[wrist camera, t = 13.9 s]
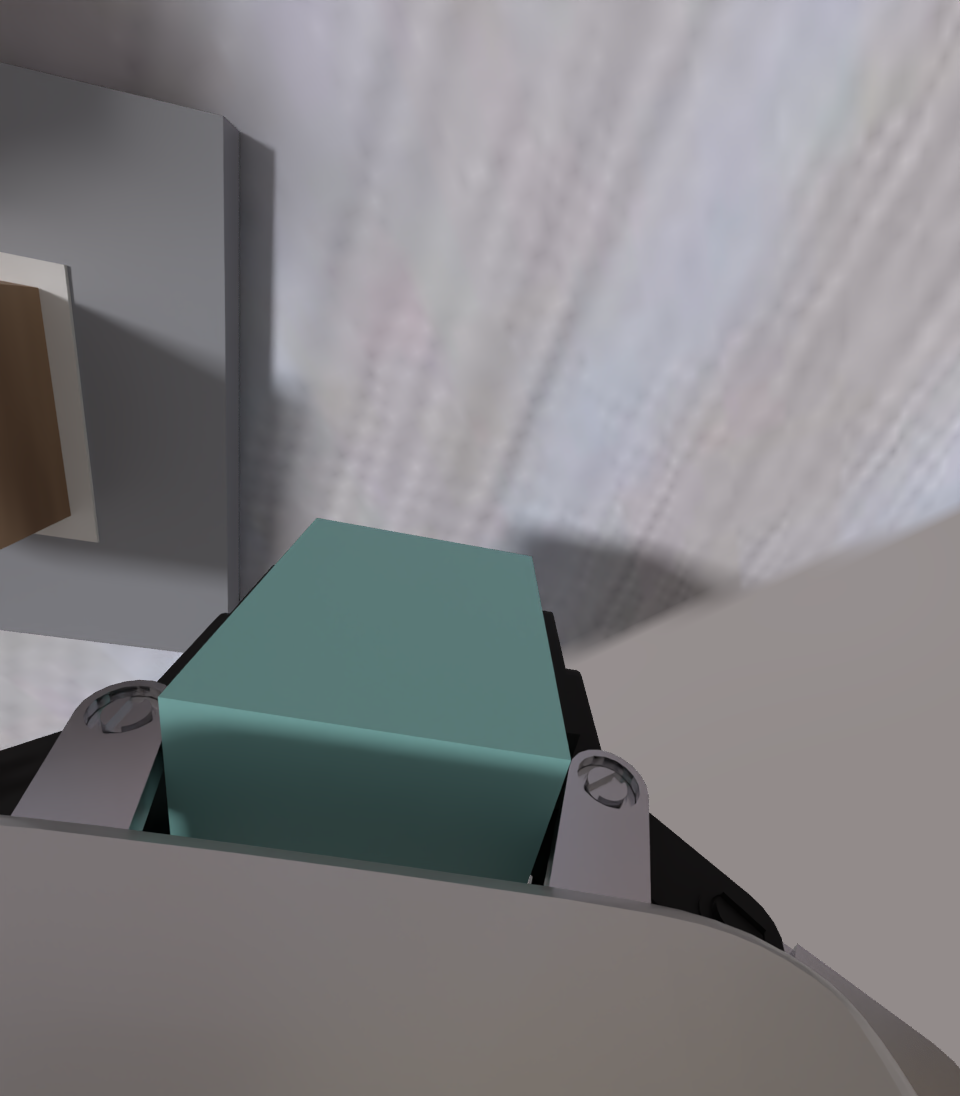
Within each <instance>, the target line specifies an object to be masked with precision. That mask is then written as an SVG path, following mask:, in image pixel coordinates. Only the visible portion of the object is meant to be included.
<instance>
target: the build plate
mask: <svg viewBox="0 0 960 1096" xmlns="http://www.w3.org/2000/svg"><path fill="white" fill-rule="evenodd" d="M0 280H1V281H6V282H11V283H16V284H21V285H27V286H32V287H37V288H38V289H39V296H40V303H41V310H42V317H43V324H44V331H45V338H46V345H47V351H48V358H49V365H50V372H51V379H52V386H53V393H54V400H55V407H56V414H57V421H58V428H59V435H60V442H61V449H62V456H63V463H64V470H65V477H66V484H67V491H68V498H69V505H70V512H71V516H69V517H67V518H65V519H63V520H61V521H59V522H57V523H55V524H53V525H51V526H49V527H46V528H44V529H42V530H40V531H38V532H36V533H34V534H32V535H30V536H28V537H26V538H24V539H22V540H20V541H18V542H15V543H13V544H11V545H9V546H7V547H5V548H3V549H1V550H0V630H4V631H13V632H21V633H29V634H37V635H45V636H53V637H61V638H69V639H78V640H86V641H94V642H102V643H110V644H118V645H126V646H134V647H143V648H151V649H159V650H167V651H175V652H183V653H184V652H185V651H186V650H187V649H188V648H189V647H190V646H191V645H192V644H193V642H194V641H195V640H196V639H197V638H198V637H199V636H200V635H201V634H202V633H203V632H204V631H205V630H206V628H207V627H208V626H209V625H210V624H211V623H212V622H213V621H214V620H215V619H216V618H217V617H218V616H219V615H220V614H221V613H231V612H232V611H233V610H234V608H235V607H236V606H237V605H238V604H239V130H238V129H237V128H236V127H235V126H234V125H232V124H231V123H230V122H229V121H228V120H227V119H226V118H225V117H224V116H222V115H218V114H214V113H209V112H205V111H201V110H197V109H193V108H189V107H185V106H180V105H176V104H172V103H168V102H164V101H160V100H156V99H151V98H147V97H143V96H139V95H135V94H131V93H127V92H123V91H118V90H114V89H110V88H106V87H102V86H98V85H94V84H89V83H85V82H81V81H77V80H73V79H69V78H65V77H60V76H56V75H52V74H48V73H44V72H40V71H36V70H31V69H27V68H23V67H19V66H15V65H11V64H7V63H2V62H0Z"/></svg>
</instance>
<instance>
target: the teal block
mask: <svg viewBox="0 0 960 1096" xmlns="http://www.w3.org/2000/svg"><path fill="white" fill-rule="evenodd" d="M158 704H159V715H160V726H161V737H162V748H163V759H164V770H165V781H166V791H167V802H168V813H169V824H170V835H175V836H183V837H191V838H198V839H206V840H214V841H221V842H229V843H237V844H244V845H252V846H259V847H267V848H274V849H282V850H289V851H296V852H304V853H311V854H319V855H326V856H334V857H341V858H348V859H355V860H363V861H370V862H377V863H385V864H392V865H399V866H407V867H414V868H421V869H428V870H435V871H442V872H449V873H456V874H463V875H470V876H477V877H485V878H492V879H499V880H506V881H513V882H520V883H528V880H529V877H530V874H531V871H532V869H533V866H534V863H535V860H536V857H537V855H538V852H539V849H540V846H541V843H542V841H543V838H544V835H545V832H546V829H547V827H548V824H549V821H550V818H551V815H552V813H553V810H554V807H555V804H556V801H557V798H558V796H559V793H560V790H561V787H562V784H563V782H564V779H565V776H566V773H567V770H568V768H569V765H570V762H571V757H570V752H569V747H568V742H567V737H566V731H565V726H564V721H563V716H562V711H561V705H560V700H559V695H558V690H557V685H556V679H555V674H554V669H553V664H552V659H551V653H550V648H549V643H548V638H547V633H546V627H545V622H544V617H543V612H542V607H541V601H540V596H539V591H538V586H537V581H536V575H535V570H534V565H533V560H532V556H527V555H521V554H516V553H510V552H504V551H499V550H493V549H488V548H482V547H476V546H471V545H465V544H460V543H454V542H448V541H443V540H437V539H432V538H426V537H420V536H415V535H409V534H404V533H398V532H393V531H387V530H381V529H376V528H370V527H365V526H359V525H353V524H348V523H342V522H337V521H331V520H325V519H320V518H316V519H315V521H314V522H313V523H312V524H311V525H310V526H309V527H308V528H307V530H306V531H305V532H304V533H303V534H302V535H301V536H300V537H299V539H298V540H297V541H296V542H295V543H294V544H293V545H292V546H291V548H290V549H289V550H288V551H287V552H286V553H285V554H284V555H283V557H282V558H281V559H280V560H279V561H278V562H277V563H276V564H275V566H274V567H273V568H272V569H271V570H270V571H269V572H268V574H267V575H266V576H265V577H264V578H263V579H262V580H261V581H260V583H259V584H258V585H257V586H256V587H255V588H254V589H253V590H252V592H251V593H250V594H249V595H248V596H247V597H246V598H245V599H244V601H243V602H242V603H241V604H240V605H239V606H238V607H237V608H236V610H235V611H234V612H233V613H232V614H231V615H230V616H229V617H228V619H227V620H226V621H225V622H224V623H223V624H222V625H221V626H220V628H219V629H218V630H217V631H216V632H215V633H214V634H213V635H212V637H211V638H210V639H209V640H208V641H207V642H206V643H205V644H204V646H203V647H202V648H201V649H200V650H199V651H198V652H197V653H196V655H195V656H194V657H193V658H192V659H191V660H190V661H189V662H188V664H187V665H186V666H185V667H184V668H183V669H182V670H181V672H180V673H179V674H178V675H177V676H176V677H175V678H174V679H173V681H172V682H171V683H170V684H169V685H168V686H167V687H166V688H165V690H164V691H163V692H162V693H161V694H160V695H159V696H158Z"/></svg>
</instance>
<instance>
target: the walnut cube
mask: <svg viewBox="0 0 960 1096" xmlns="http://www.w3.org/2000/svg"><path fill="white" fill-rule="evenodd" d="M69 516H71V512H70V505H69V498H68V491H67V484H66V477H65V470H64V463H63V456H62V449H61V442H60V435H59V428H58V421H57V414H56V407H55V400H54V393H53V386H52V379H51V372H50V365H49V358H48V351H47V345H46V338H45V331H44V324H43V317H42V310H41V303H40V296H39V289H38V288H37V287H32V286H27V285H21V284H16V283H11V282H6V281H1V280H0V550H1V549H3V548H5V547H7V546H9V545H11V544H13V543H15V542H18V541H20V540H22V539H24V538H26V537H28V536H30V535H32V534H34V533H36V532H38V531H40V530H42V529H44V528H46V527H49V526H51V525H53V524H55V523H57V522H59V521H61V520H63V519H65V518H67V517H69Z"/></svg>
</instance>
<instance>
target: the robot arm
mask: <svg viewBox="0 0 960 1096" xmlns="http://www.w3.org/2000/svg"><path fill="white" fill-rule="evenodd" d="M274 566H275V565H273V566H272V567H271V568H270V569H269V570H268V572H269V571H270V570H271V569H272V568H273V567H274ZM268 572H267V573H266V574H265V575H264V576H263V577H262V578H261V579H260V580H259V582H258V583H257V584H256V585H255V586H254V587H253V588H252V589H251V591H250V592H249V593H248V594H247V595H246V596H245V597H244V598H243V600H242V601H241V602H240V603H239V604H238V605H237V606H236V607H235V608H234V610H233V611H232V612H231V613H221V614H220V615H219V616H218V617H217V618H216V619H215V620H214V621H213V622H212V623H211V624H210V625H209V626H208V627H207V628H206V630H205V631H204V632H203V633H202V634H201V635H200V636H199V637H198V638H197V639H196V640H195V641H194V642H193V644H192V645H191V646H190V647H189V648H188V649H187V650H186V651H185V652H184V653H183V654H182V655H181V657H180V658H179V659H178V660H177V661H176V662H175V663H174V664H173V665H172V666H171V667H170V668H169V669H168V671H167V672H166V673H165V674H164V675H163V676H162V677H161V678H160V679H159V680H158V681H157V682H155V681H147V680H135V681H126V682H122V683H118V684H114V685H111V686H108V687H106V688H104V689H101V690H99V691H97V692H95V693H93V694H92V695H91V696H89V697H88V698H86V699H85V700H83V702H82V703H81V704H80V705H79V706H78V707H77V708H76V710H75V711H74V713H73V714H72V716H71V718H70V719H69V721H68V722H67V724H66V726H65V727H64V729H63V731H60V732H57V733H54V734H51V735H48V736H45V737H41V738H38V739H35V740H32V741H29V742H26V743H23V744H20V745H17V746H14V747H11V748H8V749H4V750H1V751H0V1096H960V1068H959V1067H958V1066H957V1065H956V1064H955V1062H954V1061H953V1060H951V1059H950V1058H949V1057H948V1056H947V1055H946V1054H945V1053H944V1052H942V1051H941V1050H940V1049H939V1048H938V1047H937V1046H936V1045H934V1044H933V1043H932V1042H931V1041H929V1040H928V1039H926V1038H925V1037H924V1036H922V1035H921V1034H920V1033H918V1032H917V1031H916V1030H914V1029H913V1028H912V1027H910V1026H909V1025H908V1024H906V1023H905V1022H903V1021H902V1020H901V1019H899V1018H898V1017H897V1016H895V1015H894V1014H892V1013H891V1012H890V1011H888V1010H887V1009H886V1008H884V1007H883V1006H882V1005H880V1004H879V1003H878V1002H876V1001H875V1000H873V999H872V998H871V997H869V996H868V995H867V994H865V993H864V992H863V991H861V990H860V989H858V988H857V987H856V986H854V985H853V984H852V983H850V982H849V981H848V980H846V979H845V978H844V977H842V976H841V975H839V974H838V973H837V972H835V971H834V970H832V969H831V968H830V967H828V966H827V965H825V963H823V962H822V961H820V960H819V959H818V958H816V957H815V956H814V955H812V954H811V953H809V952H808V951H807V950H805V949H804V948H803V947H801V946H800V945H799V944H797V945H796V946H795V947H794V949H791V948H790V947H788V946H787V945H786V944H784V943H783V942H782V938H781V936H780V934H779V932H778V930H777V928H776V926H775V924H774V922H773V921H772V919H771V918H770V917H769V915H768V914H767V913H766V911H765V910H764V908H763V907H762V906H761V905H760V904H759V903H758V902H756V901H755V900H754V899H753V898H752V897H751V896H750V895H749V894H748V893H747V892H746V891H744V890H743V889H742V888H740V887H739V886H738V885H737V884H736V883H735V882H733V881H732V880H731V879H730V878H728V877H727V876H726V875H725V874H724V873H722V872H721V871H720V870H719V869H717V868H716V867H715V866H714V865H713V864H711V863H710V862H709V861H708V860H707V859H705V858H704V857H703V856H702V855H700V854H699V853H698V852H697V851H696V850H694V849H693V848H692V847H691V846H689V845H688V844H687V843H686V842H684V841H683V840H682V839H681V838H680V837H679V836H677V835H676V834H675V833H674V832H672V831H671V830H670V829H669V828H668V827H666V826H665V825H664V824H663V823H661V822H660V821H659V820H658V819H657V818H655V817H654V816H653V815H651V814H650V813H649V795H648V791H647V786H646V784H645V782H644V780H643V778H642V777H641V775H640V774H639V773H638V772H637V771H636V769H635V768H634V767H633V766H632V765H630V764H629V763H628V762H626V761H625V760H624V759H622V758H621V757H618V756H616V755H614V754H612V753H609V752H606V751H602V750H601V747H600V743H599V740H598V736H597V732H596V728H595V725H594V721H593V717H592V714H591V710H590V706H589V703H588V698H587V695H586V691H585V687H584V684H583V680H582V676H581V674H580V672H579V671H577V670H571V669H565V664H564V660H563V656H562V651H561V647H560V642H559V638H558V633H557V629H556V625H555V620H554V616H553V613H552V612H547V611H542V612H543V617H544V622H545V627H546V633H547V638H548V643H549V648H550V653H551V659H552V664H553V669H554V674H555V679H556V685H557V690H558V695H559V700H560V705H561V711H562V716H563V721H564V726H565V731H566V737H567V742H568V747H569V752H570V757H571V762H570V765H569V768H568V770H567V773H566V776H565V779H564V782H563V784H562V787H561V790H560V793H559V796H558V798H557V801H556V804H555V807H554V810H553V813H552V815H551V818H550V821H549V824H548V827H547V829H546V832H545V835H544V838H543V841H542V843H541V846H540V849H539V852H538V855H537V857H536V860H535V863H534V866H533V869H532V871H531V874H530V875H531V876H530V878H529V883H528V884H527V883H520V882H513V881H506V880H499V879H492V878H485V877H477V876H470V875H463V874H456V873H449V872H442V871H435V870H428V869H421V868H414V867H407V866H399V865H392V864H385V863H377V862H370V861H363V860H355V859H348V858H341V857H334V856H326V855H319V854H311V853H304V852H296V851H289V850H282V849H274V848H267V847H259V846H252V845H244V844H237V843H229V842H221V841H214V840H206V839H198V838H191V837H183V836H175V835H170V824H169V813H168V802H167V791H166V781H165V770H164V759H163V748H162V737H161V726H160V715H159V704H158V696H159V695H160V694H161V693H162V692H163V691H164V690H165V688H166V687H167V686H168V685H169V684H170V683H171V682H172V681H173V679H174V678H175V677H176V676H177V675H178V674H179V673H180V672H181V670H182V669H183V668H184V667H185V666H186V665H187V664H188V662H189V661H190V660H191V659H192V658H193V657H194V656H195V655H196V653H197V652H198V651H199V650H200V649H201V648H202V647H203V646H204V644H205V643H206V642H207V641H208V640H209V639H210V638H211V637H212V635H213V634H214V633H215V632H216V631H217V630H218V629H219V628H220V626H221V625H222V624H223V623H224V622H225V621H226V620H227V619H228V617H229V616H230V615H231V614H232V613H233V612H234V611H235V610H236V608H237V607H238V606H239V605H240V604H241V603H242V602H243V601H244V599H245V598H246V597H247V596H248V595H249V594H250V593H251V592H252V590H253V589H254V588H255V587H256V586H257V585H258V584H259V583H260V581H261V580H262V579H263V578H264V577H265V576H266V575H267V574H268Z"/></svg>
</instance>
